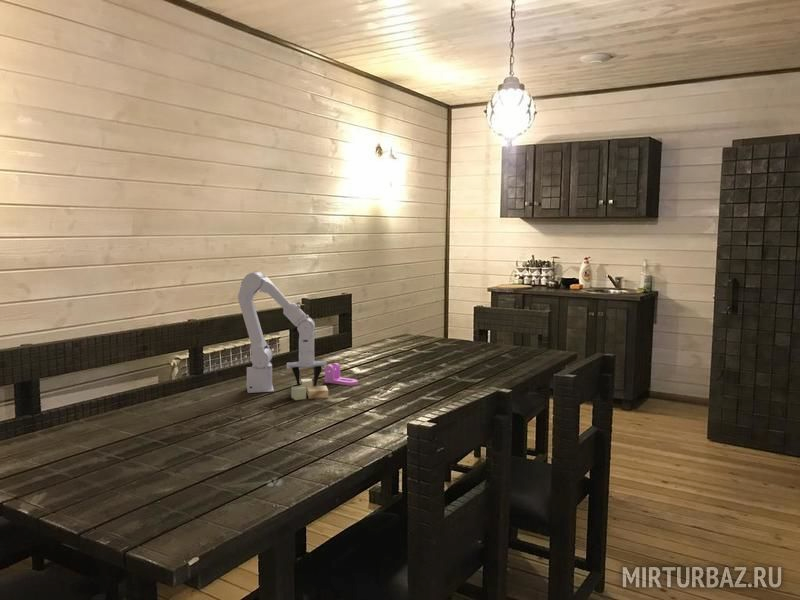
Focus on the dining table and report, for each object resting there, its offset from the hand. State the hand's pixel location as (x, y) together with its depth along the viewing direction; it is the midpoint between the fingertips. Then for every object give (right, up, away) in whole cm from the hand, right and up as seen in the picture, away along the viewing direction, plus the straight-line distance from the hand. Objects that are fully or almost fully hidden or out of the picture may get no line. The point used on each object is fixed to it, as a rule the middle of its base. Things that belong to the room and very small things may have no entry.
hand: (306, 386), depth 238 cm
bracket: (+12, -1, +13) cm, 18 cm away
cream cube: (0, -2, 0) cm, 2 cm away
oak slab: (+5, -3, -7) cm, 9 cm away
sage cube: (-1, -3, -10) cm, 11 cm away
